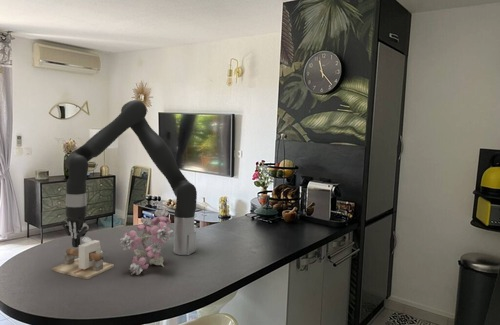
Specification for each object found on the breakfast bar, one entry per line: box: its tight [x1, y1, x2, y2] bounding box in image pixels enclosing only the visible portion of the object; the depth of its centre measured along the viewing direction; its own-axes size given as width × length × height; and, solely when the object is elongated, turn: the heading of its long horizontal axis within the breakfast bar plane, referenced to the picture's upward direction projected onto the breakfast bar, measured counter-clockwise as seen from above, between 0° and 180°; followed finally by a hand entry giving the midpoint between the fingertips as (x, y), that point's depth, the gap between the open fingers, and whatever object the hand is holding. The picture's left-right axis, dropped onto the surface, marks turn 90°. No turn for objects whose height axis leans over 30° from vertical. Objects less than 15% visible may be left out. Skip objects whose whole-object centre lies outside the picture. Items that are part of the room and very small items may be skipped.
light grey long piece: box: [80, 236, 104, 257], centre depth 165 cm, size 5×7×25 cm
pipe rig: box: [51, 247, 115, 280], centre depth 145 cm, size 18×14×7 cm
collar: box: [78, 239, 101, 269], centre depth 143 cm, size 3×8×9 cm, turn 159°
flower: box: [118, 208, 174, 275], centre depth 148 cm, size 20×22×25 cm
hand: (75, 246), depth 146 cm, fingers closed
